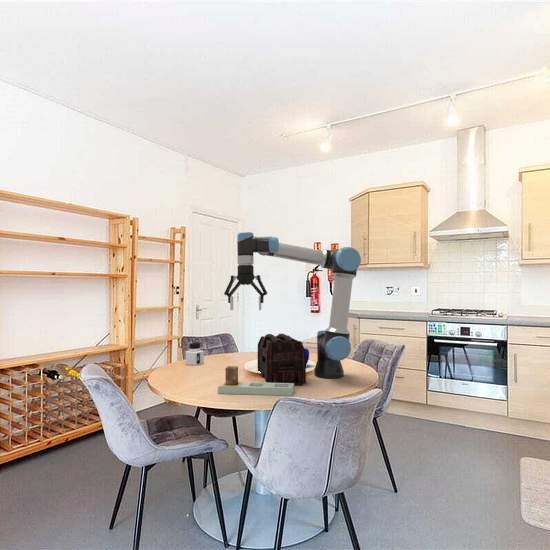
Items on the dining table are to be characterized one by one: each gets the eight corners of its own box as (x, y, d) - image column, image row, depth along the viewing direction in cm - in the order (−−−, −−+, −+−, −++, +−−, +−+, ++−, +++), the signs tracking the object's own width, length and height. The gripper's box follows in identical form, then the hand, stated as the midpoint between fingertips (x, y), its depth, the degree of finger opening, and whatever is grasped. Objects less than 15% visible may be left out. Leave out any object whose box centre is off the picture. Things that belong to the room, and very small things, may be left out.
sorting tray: (294, 390, 174) (294, 382, 174) (292, 395, 165) (292, 387, 165) (223, 388, 178) (223, 381, 179) (217, 393, 170) (217, 385, 170)
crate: (308, 385, 182) (308, 340, 183) (268, 388, 179) (268, 341, 179) (290, 370, 217) (289, 332, 217) (256, 372, 213) (256, 333, 214)
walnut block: (238, 386, 175) (238, 366, 175) (235, 389, 171) (235, 368, 171) (228, 386, 176) (228, 366, 176) (225, 389, 171) (225, 368, 172)
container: (203, 363, 238) (203, 341, 238) (194, 365, 231) (194, 343, 232) (194, 362, 242) (194, 341, 242) (185, 364, 235) (185, 342, 236)
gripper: (272, 265, 188) (273, 309, 187) (222, 266, 191) (222, 309, 191) (270, 264, 180) (270, 310, 180) (217, 265, 184) (217, 310, 183)
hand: (245, 310), depth 185 cm, fingers open, 13 cm apart
